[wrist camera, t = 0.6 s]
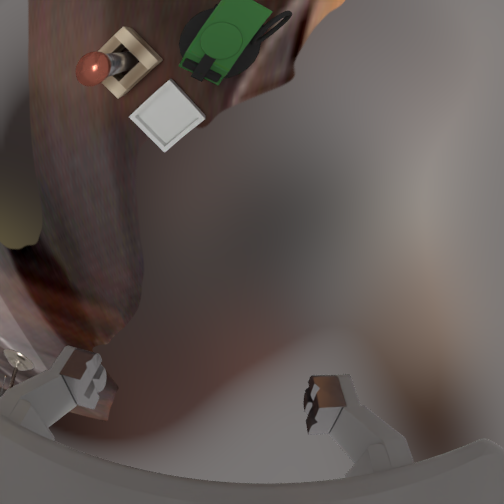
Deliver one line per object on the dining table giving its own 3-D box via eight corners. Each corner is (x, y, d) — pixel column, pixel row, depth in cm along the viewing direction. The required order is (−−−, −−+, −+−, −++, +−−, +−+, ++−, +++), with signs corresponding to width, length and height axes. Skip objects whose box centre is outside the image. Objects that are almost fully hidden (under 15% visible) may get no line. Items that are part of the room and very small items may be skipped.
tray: (132, 113, 45) (128, 116, 43) (171, 78, 42) (169, 79, 40) (166, 148, 51) (164, 152, 49) (205, 115, 48) (205, 118, 46)
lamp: (53, 370, 101) (41, 436, 75) (30, 374, 105) (18, 432, 79) (10, 338, 84) (-10, 409, 59) (-8, 346, 88) (-26, 407, 62)
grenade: (271, 23, 38) (305, 11, 22) (229, 82, 44) (238, 102, 29) (217, -5, 33) (220, -36, 18) (176, 56, 40) (153, 61, 25)
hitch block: (95, 63, 37) (84, 65, 33) (131, 28, 35) (123, 26, 31) (126, 93, 42) (117, 98, 39) (163, 59, 40) (158, 61, 36)
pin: (111, 61, 38) (69, 72, 25) (129, 43, 36) (93, 44, 24) (127, 77, 41) (90, 93, 28) (145, 60, 39) (115, 66, 26)
